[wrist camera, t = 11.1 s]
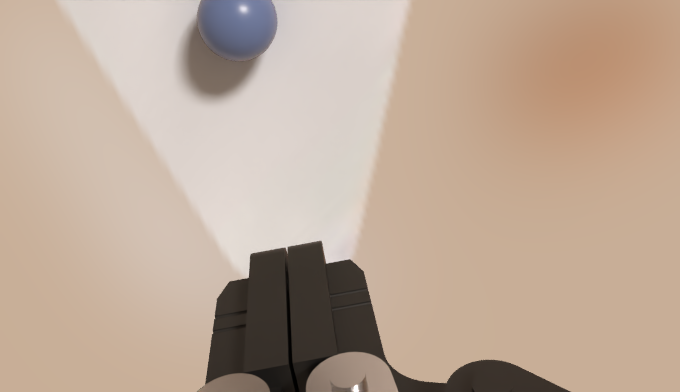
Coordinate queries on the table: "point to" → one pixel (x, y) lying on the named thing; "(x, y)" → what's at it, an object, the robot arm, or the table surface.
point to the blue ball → (237, 27)
